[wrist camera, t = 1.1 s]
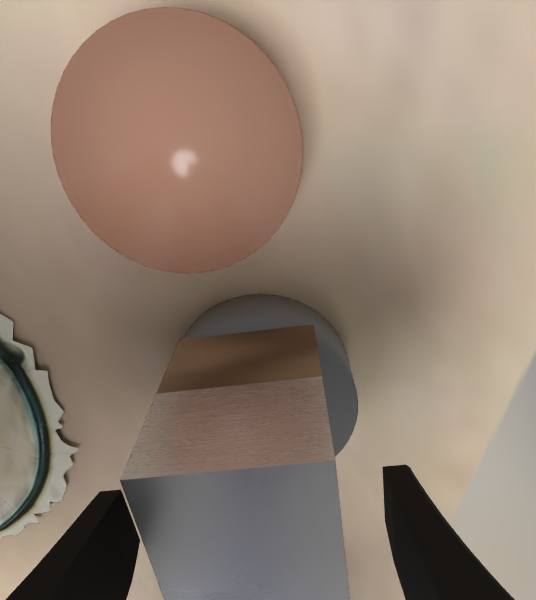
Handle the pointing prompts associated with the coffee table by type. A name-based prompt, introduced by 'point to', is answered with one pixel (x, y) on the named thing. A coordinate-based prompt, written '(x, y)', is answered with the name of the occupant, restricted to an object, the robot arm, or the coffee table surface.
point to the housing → (240, 472)
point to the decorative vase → (27, 437)
